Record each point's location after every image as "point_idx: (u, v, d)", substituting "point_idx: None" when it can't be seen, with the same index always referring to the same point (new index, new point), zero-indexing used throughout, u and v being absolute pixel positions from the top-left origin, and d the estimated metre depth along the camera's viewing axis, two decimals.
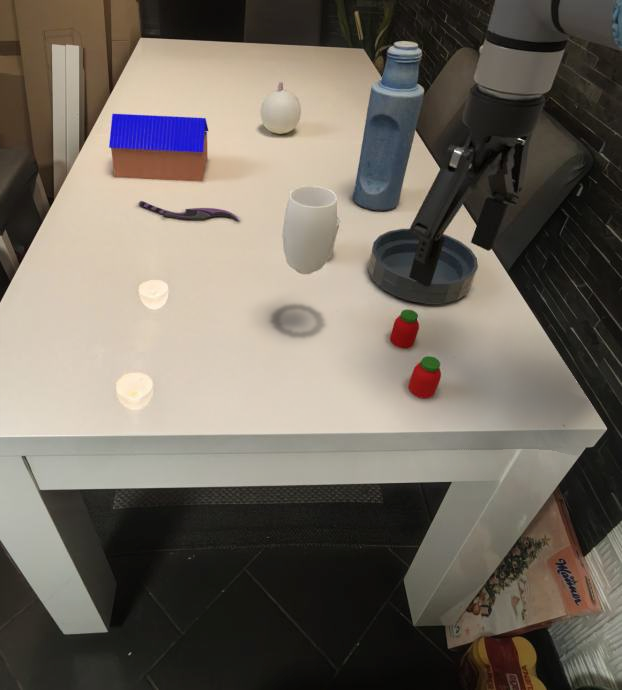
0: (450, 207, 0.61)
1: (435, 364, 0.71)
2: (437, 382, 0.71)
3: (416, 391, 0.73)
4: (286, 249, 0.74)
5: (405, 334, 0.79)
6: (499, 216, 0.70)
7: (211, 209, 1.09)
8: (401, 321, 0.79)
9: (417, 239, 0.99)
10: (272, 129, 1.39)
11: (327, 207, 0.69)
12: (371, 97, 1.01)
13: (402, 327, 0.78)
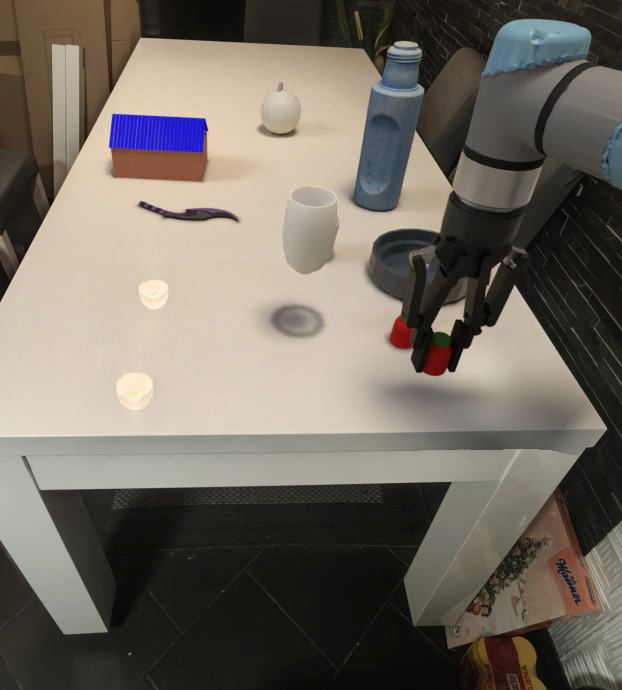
0: (430, 304, 0.63)
1: (446, 339, 0.68)
2: (448, 358, 0.68)
3: (426, 368, 0.70)
4: (286, 249, 0.74)
5: (405, 334, 0.79)
6: (459, 341, 0.67)
7: (211, 209, 1.09)
8: (401, 321, 0.79)
9: (417, 239, 0.99)
10: (272, 129, 1.39)
11: (327, 207, 0.69)
12: (371, 97, 1.01)
13: (402, 327, 0.78)
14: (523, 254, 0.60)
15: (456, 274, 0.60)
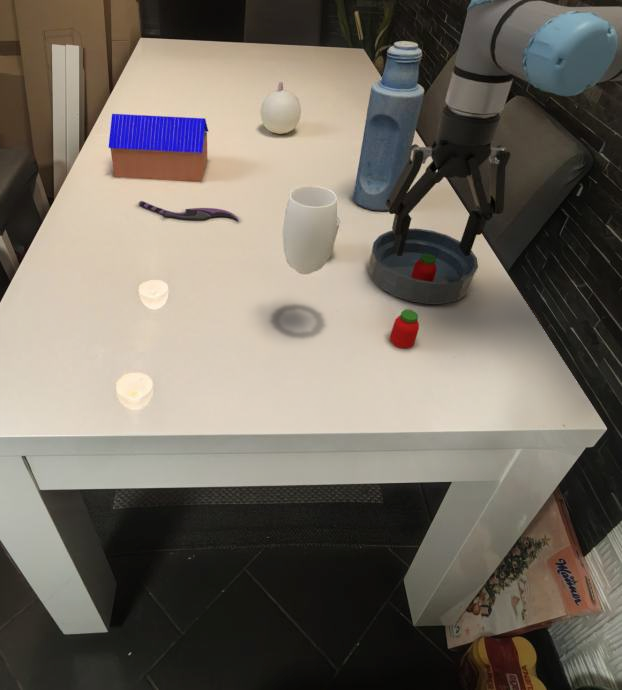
0: (414, 194, 0.80)
1: (432, 258, 0.89)
2: (433, 274, 0.89)
3: None
4: (286, 249, 0.74)
5: (405, 334, 0.79)
6: (473, 226, 0.84)
7: (211, 209, 1.09)
8: (401, 321, 0.79)
9: (417, 239, 0.99)
10: (272, 129, 1.39)
11: (327, 207, 0.69)
12: (371, 97, 1.01)
13: (402, 327, 0.78)
14: (502, 151, 0.77)
15: (444, 171, 0.77)
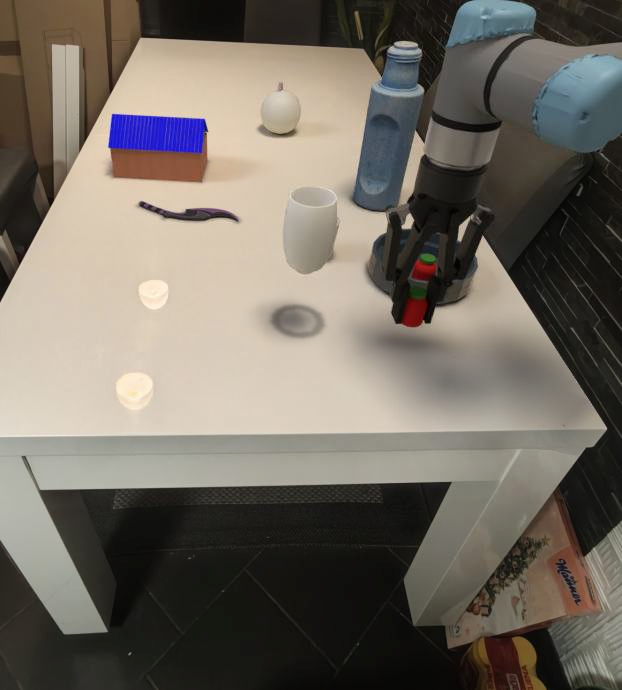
0: (406, 258, 0.71)
1: (432, 258, 0.89)
2: (433, 274, 0.89)
3: None
4: (286, 249, 0.74)
5: (413, 312, 0.76)
6: (433, 294, 0.74)
7: (211, 209, 1.09)
8: (409, 298, 0.76)
9: None
10: (272, 129, 1.39)
11: (327, 207, 0.69)
12: (371, 97, 1.01)
13: (410, 304, 0.75)
14: (487, 211, 0.67)
15: (428, 229, 0.67)
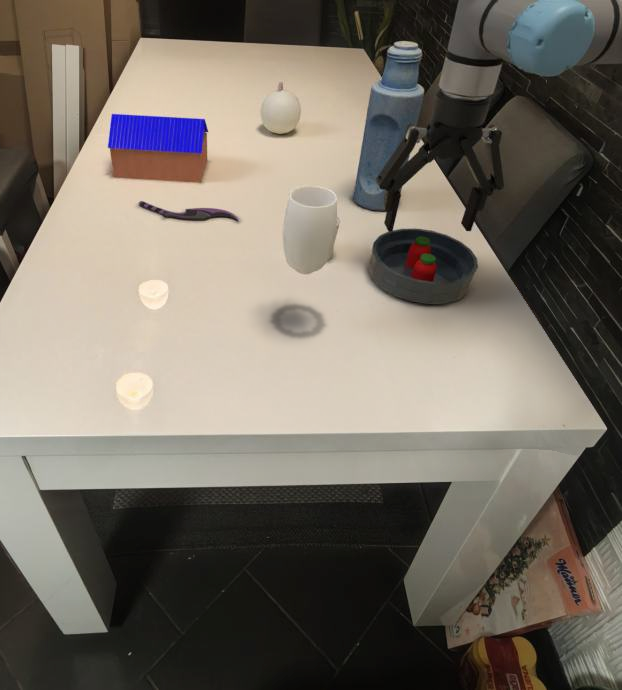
0: (406, 171, 0.84)
1: (432, 258, 0.89)
2: (433, 274, 0.89)
3: None
4: (286, 249, 0.74)
5: (419, 257, 0.93)
6: (475, 202, 0.88)
7: (211, 209, 1.09)
8: (416, 245, 0.93)
9: None
10: (272, 129, 1.39)
11: (327, 207, 0.69)
12: (371, 97, 1.01)
13: (417, 250, 0.93)
14: (494, 130, 0.81)
15: (436, 151, 0.81)
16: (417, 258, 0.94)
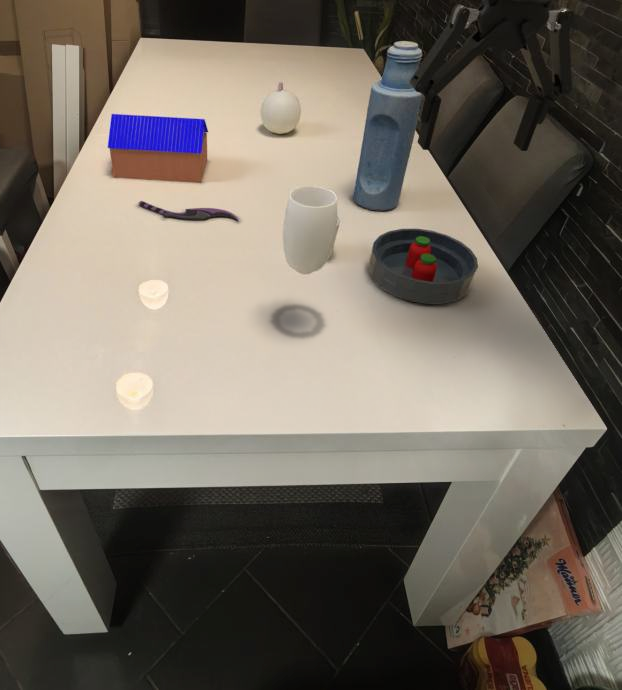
0: (449, 67, 0.67)
1: (432, 258, 0.89)
2: (433, 274, 0.89)
3: None
4: (286, 249, 0.74)
5: (419, 257, 0.93)
6: (535, 112, 0.71)
7: (211, 209, 1.09)
8: (416, 245, 0.93)
9: None
10: (272, 129, 1.39)
11: (327, 207, 0.69)
12: (371, 97, 1.01)
13: (417, 250, 0.93)
14: (563, 11, 0.64)
15: (490, 39, 0.64)
16: (417, 258, 0.94)
